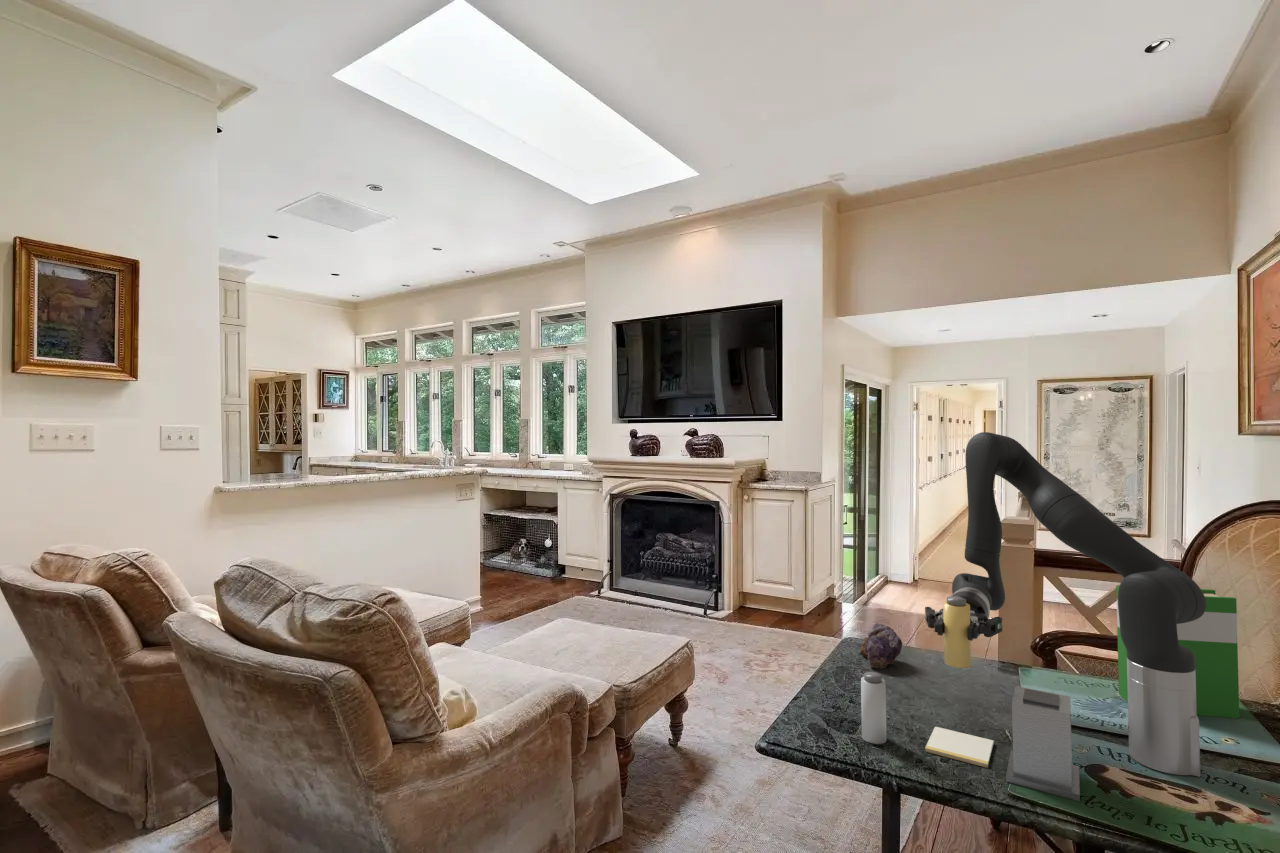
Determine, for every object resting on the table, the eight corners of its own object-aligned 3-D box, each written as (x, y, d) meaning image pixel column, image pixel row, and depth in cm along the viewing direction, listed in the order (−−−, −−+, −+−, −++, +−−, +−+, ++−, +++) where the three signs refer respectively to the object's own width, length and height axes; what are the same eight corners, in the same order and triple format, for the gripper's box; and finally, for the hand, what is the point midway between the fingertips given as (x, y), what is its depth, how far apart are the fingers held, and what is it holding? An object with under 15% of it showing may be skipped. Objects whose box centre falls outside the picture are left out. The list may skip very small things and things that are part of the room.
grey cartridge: (889, 736, 118) (887, 673, 118) (883, 746, 115) (882, 681, 115) (865, 730, 121) (864, 669, 121) (859, 739, 117) (858, 676, 117)
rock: (862, 673, 152) (906, 675, 150) (861, 640, 151) (905, 642, 149) (858, 649, 164) (898, 651, 161) (857, 619, 163) (898, 620, 160)
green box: (1215, 702, 131) (1212, 589, 131) (1239, 718, 124) (1236, 598, 124) (1118, 694, 135) (1116, 585, 136) (1136, 709, 128) (1133, 593, 128)
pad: (993, 743, 115) (993, 740, 115) (987, 767, 107) (987, 764, 107) (935, 729, 121) (935, 726, 121) (925, 751, 112) (925, 747, 112)
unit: (1079, 772, 105) (1077, 693, 105) (1079, 801, 97) (1077, 715, 97) (1010, 755, 111) (1009, 680, 111) (1006, 781, 103) (1004, 700, 103)
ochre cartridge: (972, 662, 115) (971, 597, 115) (969, 670, 111) (968, 603, 111) (946, 657, 117) (945, 594, 117) (942, 664, 113) (941, 599, 114)
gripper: (929, 586, 130) (912, 605, 116) (1008, 595, 122) (999, 618, 108) (930, 621, 130) (912, 645, 116) (1008, 633, 122) (1000, 661, 108)
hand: (954, 632), depth 112 cm, fingers closed on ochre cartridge, 4 cm apart
